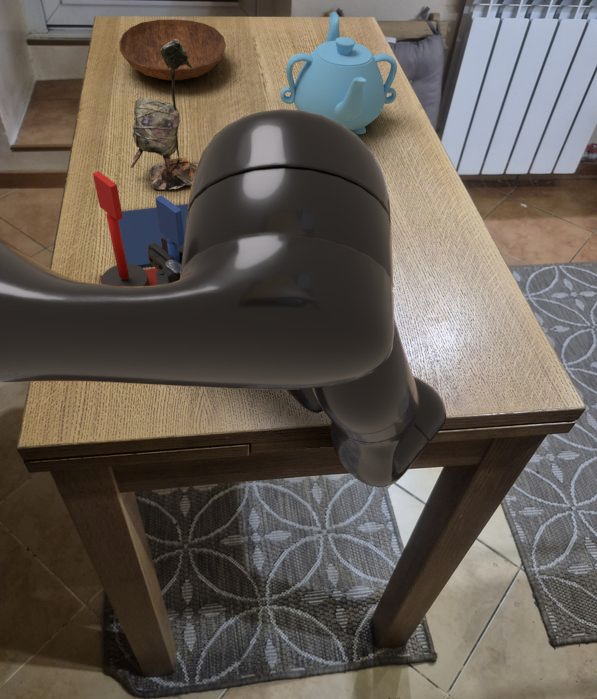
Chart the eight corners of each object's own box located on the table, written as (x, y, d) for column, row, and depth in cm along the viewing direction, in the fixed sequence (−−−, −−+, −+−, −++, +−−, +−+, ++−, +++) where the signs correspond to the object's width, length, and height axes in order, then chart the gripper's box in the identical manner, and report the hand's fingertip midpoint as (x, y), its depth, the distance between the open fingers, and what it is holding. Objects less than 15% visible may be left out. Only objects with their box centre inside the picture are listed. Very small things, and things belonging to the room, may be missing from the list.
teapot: (326, 87, 118) (334, 9, 107) (408, 127, 110) (425, 47, 99) (266, 115, 109) (269, 33, 99) (351, 161, 101) (363, 77, 91)
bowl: (117, 96, 110) (113, 68, 107) (127, 42, 125) (124, 16, 121) (227, 97, 113) (227, 70, 109) (225, 45, 127) (224, 19, 123)
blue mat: (124, 270, 81) (123, 267, 80) (115, 215, 88) (115, 212, 88) (214, 258, 83) (214, 255, 83) (199, 205, 91) (198, 202, 90)
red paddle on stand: (121, 310, 75) (97, 200, 63) (94, 286, 78) (66, 177, 66) (158, 288, 78) (142, 180, 66) (131, 266, 80) (111, 158, 68)
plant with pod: (140, 159, 98) (121, 27, 83) (211, 166, 98) (205, 36, 83) (127, 189, 92) (104, 54, 77) (202, 196, 92) (194, 62, 77)
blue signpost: (176, 337, 72) (163, 227, 60) (147, 312, 75) (129, 201, 62) (213, 314, 75) (207, 205, 63) (183, 290, 77) (173, 181, 65)
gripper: (312, 272, 63) (202, 195, 70) (210, 338, 56) (100, 246, 63) (306, 322, 69) (205, 247, 76) (213, 388, 62) (111, 298, 69)
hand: (157, 246), depth 70 cm, fingers closed on blue signpost, 1 cm apart
